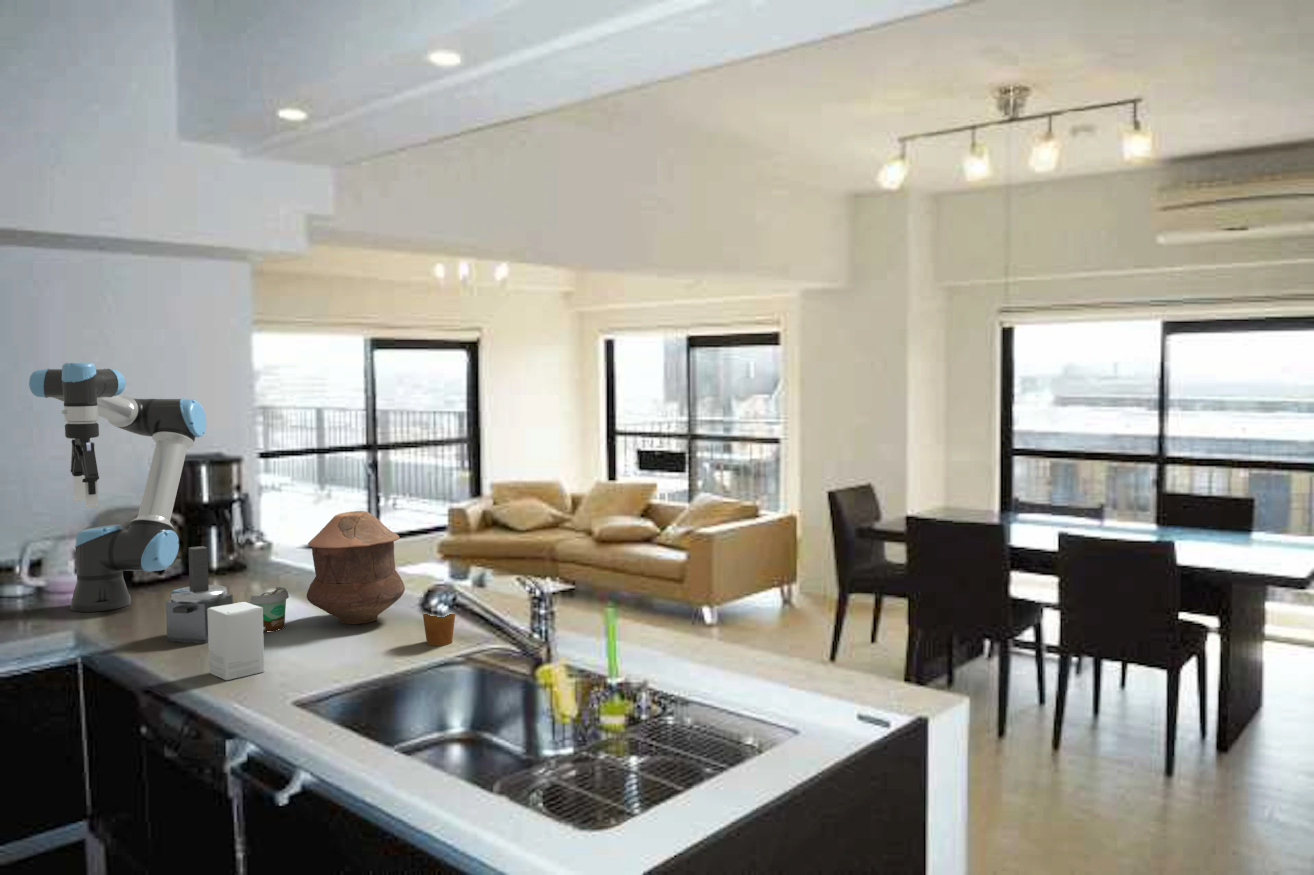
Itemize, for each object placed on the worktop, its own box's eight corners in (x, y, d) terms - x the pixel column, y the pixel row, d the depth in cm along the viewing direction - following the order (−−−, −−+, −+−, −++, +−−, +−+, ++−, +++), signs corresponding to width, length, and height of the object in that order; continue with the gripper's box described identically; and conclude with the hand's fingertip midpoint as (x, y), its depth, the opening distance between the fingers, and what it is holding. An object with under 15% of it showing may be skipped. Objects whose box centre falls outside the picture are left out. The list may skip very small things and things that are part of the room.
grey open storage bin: (201, 628, 257) (200, 590, 256) (238, 630, 255) (237, 592, 254) (161, 643, 242) (160, 603, 242) (200, 645, 240) (199, 605, 240)
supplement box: (265, 672, 219) (264, 606, 218) (226, 681, 212) (224, 614, 211) (247, 664, 225) (245, 600, 224) (208, 673, 218) (206, 607, 217)
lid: (178, 606, 239) (176, 554, 238) (165, 597, 249) (163, 547, 248) (233, 599, 247) (232, 548, 246) (218, 590, 257) (217, 541, 256)
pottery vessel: (423, 621, 265) (421, 512, 263) (334, 639, 247) (332, 522, 245) (376, 605, 283) (374, 503, 281) (290, 620, 265) (288, 511, 263)
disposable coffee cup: (425, 649, 237) (424, 601, 237) (416, 640, 246) (415, 593, 245) (463, 644, 242) (463, 597, 241) (453, 635, 250) (452, 589, 250)
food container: (271, 635, 250) (271, 597, 249) (250, 634, 251) (249, 596, 250) (298, 623, 262) (298, 587, 261) (278, 622, 263) (277, 586, 263)
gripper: (55, 420, 257) (59, 499, 259) (75, 426, 238) (79, 511, 240) (87, 418, 262) (91, 496, 264) (109, 424, 243) (113, 508, 245)
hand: (86, 503), depth 252 cm, fingers open, 13 cm apart
